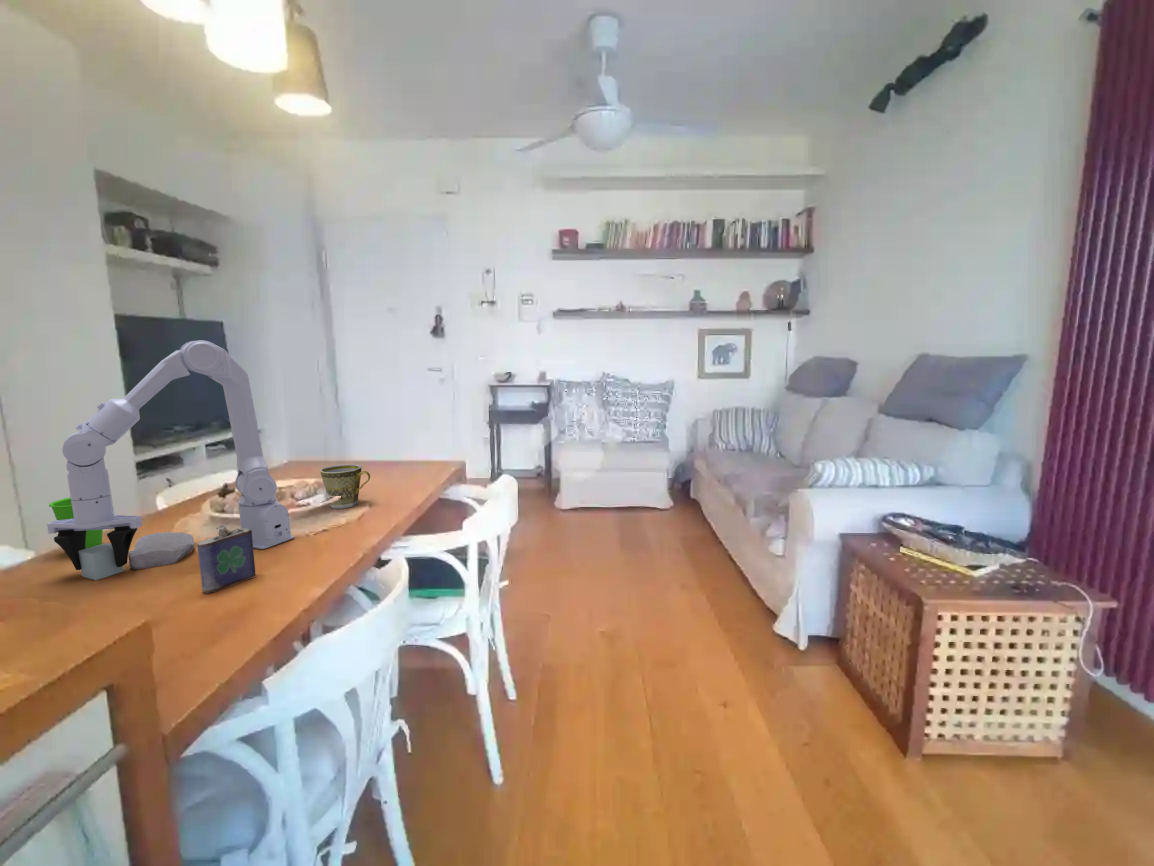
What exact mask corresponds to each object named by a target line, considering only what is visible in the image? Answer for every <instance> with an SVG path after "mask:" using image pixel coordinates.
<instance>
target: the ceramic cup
mask: <svg viewBox="0 0 1154 866" xmlns="http://www.w3.org/2000/svg"><path fill="white" fill-rule="evenodd" d="M363 474H366V475H367V476H368V477H367V480H365V482H363V483H361V476H362V475H363ZM320 475H321V479H322V482H323V485H324V487H325V492H326V494H327V493H328V494H329V495H330V496H341V498H340V499H339V500H338V501H336V502H335V503H334V505H331V504H330V503H329V506H330V507H331V508H332V509H339V510H340V509H341V510H342V509H348V508H349V509H350V508H353V507H355V506H357V505H358V504H359V495H360V490H361V489H362V488H363V487H364V486H365V485H366V484H367V483H368V482H369V481H370V479H371V475H370V473H369V471H366V470H363V471H362V465H359V464H351V463H350V464H349V463H348V464H338V465H331V466H330V465H329V466H325V467H322V468H321V469H320Z"/></svg>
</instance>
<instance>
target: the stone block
mask: <svg viewBox="0 0 1154 866" xmlns="http://www.w3.org/2000/svg"><path fill="white" fill-rule="evenodd" d="M194 540H195V539H194V536H193V535H192V534H189V533H186V532H171V531H166V532H165V531H164V532H153V533H151V534H145V535H143V536H140V537H139V538H138V539H137V541H136V542H135V545H134V548H133V549H132V550H129V553H128V560H129V561H128V564H129V567H130V569H133V570H135V571H136V570H140V569H148V568H153V567H158V566H159V567H160V566H168V565H173V564H175V563H177V562H178V561H179V560H181V559H183V558H184V557H186V556H187V555H188V554H189V553H191V551H193V550H194V548H195V541H194Z"/></svg>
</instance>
